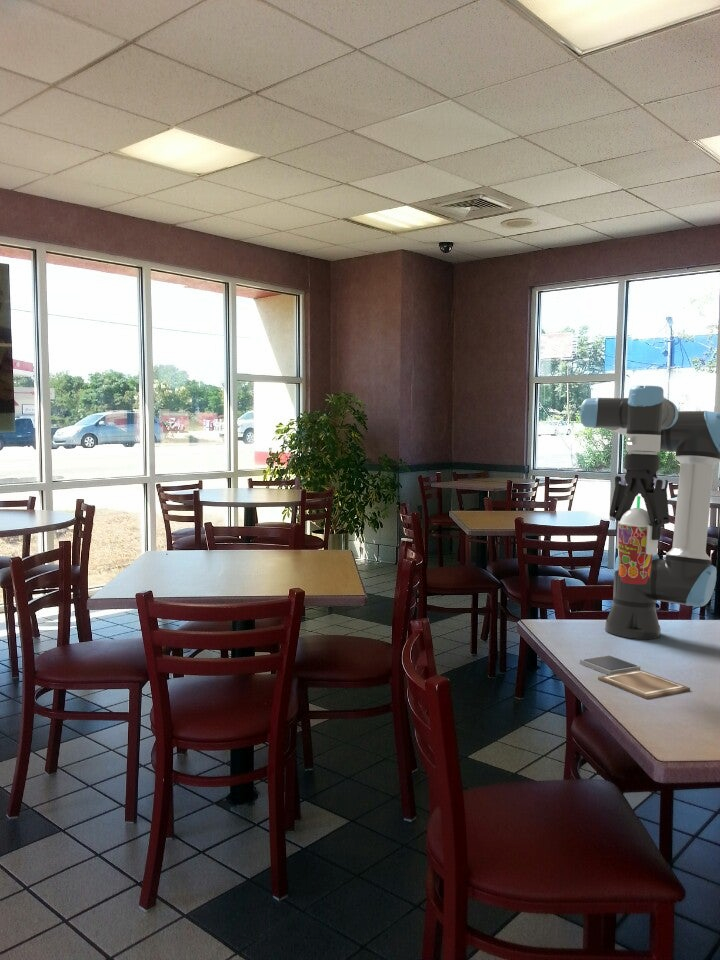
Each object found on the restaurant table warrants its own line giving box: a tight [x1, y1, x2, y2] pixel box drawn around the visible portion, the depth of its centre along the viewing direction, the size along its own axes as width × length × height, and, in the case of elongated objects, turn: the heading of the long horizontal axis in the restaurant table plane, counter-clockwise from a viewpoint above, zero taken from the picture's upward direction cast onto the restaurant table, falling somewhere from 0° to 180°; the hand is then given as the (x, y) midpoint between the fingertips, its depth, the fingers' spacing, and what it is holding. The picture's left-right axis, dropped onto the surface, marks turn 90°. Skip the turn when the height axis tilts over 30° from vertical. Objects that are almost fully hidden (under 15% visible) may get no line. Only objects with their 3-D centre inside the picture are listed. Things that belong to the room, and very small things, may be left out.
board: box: [597, 669, 691, 700], centre depth 176 cm, size 14×14×1 cm
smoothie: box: [618, 495, 653, 584], centre depth 178 cm, size 8×8×20 cm
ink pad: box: [579, 654, 641, 675], centre depth 189 cm, size 10×10×1 cm
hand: (636, 551), depth 178 cm, fingers closed on smoothie, 8 cm apart
